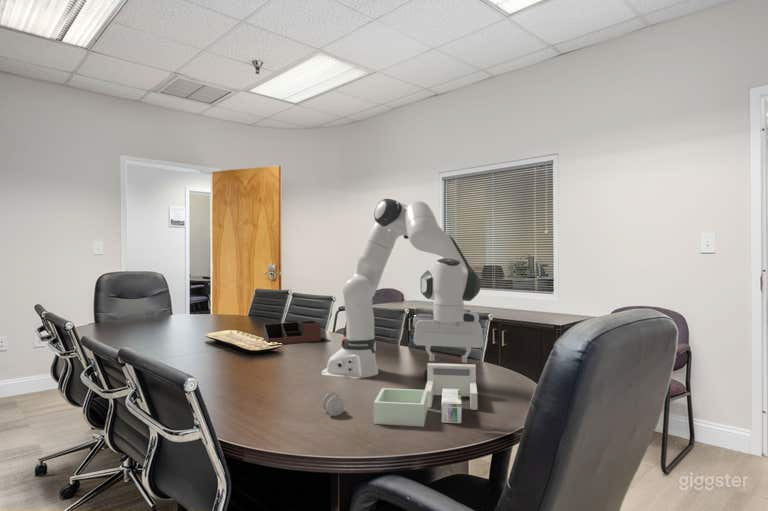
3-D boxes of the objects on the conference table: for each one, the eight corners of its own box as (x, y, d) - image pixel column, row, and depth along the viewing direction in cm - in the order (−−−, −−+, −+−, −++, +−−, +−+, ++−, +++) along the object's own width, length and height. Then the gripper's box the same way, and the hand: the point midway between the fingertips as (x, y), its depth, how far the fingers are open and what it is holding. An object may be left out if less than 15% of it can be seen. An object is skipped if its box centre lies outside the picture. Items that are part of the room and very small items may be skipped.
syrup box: (460, 407, 143) (462, 424, 129) (441, 406, 144) (441, 423, 130) (460, 388, 143) (462, 403, 129) (441, 387, 144) (441, 402, 130)
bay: (424, 407, 143) (424, 375, 143) (428, 392, 159) (427, 362, 159) (477, 409, 141) (477, 376, 141) (475, 394, 156) (475, 364, 156)
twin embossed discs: (326, 417, 135) (326, 396, 135) (322, 412, 139) (322, 392, 139) (344, 414, 137) (344, 394, 137) (340, 410, 141) (340, 390, 141)
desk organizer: (322, 343, 249) (321, 322, 249) (267, 349, 235) (267, 326, 235) (315, 340, 258) (315, 320, 258) (262, 345, 244) (262, 324, 244)
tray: (373, 423, 129) (373, 402, 129) (382, 407, 143) (381, 388, 143) (423, 426, 127) (423, 404, 127) (427, 409, 141) (427, 389, 141)
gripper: (411, 314, 134) (411, 362, 134) (483, 316, 131) (483, 365, 131) (414, 311, 141) (413, 357, 141) (483, 313, 137) (482, 360, 137)
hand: (448, 361), depth 136 cm, fingers open, 8 cm apart
